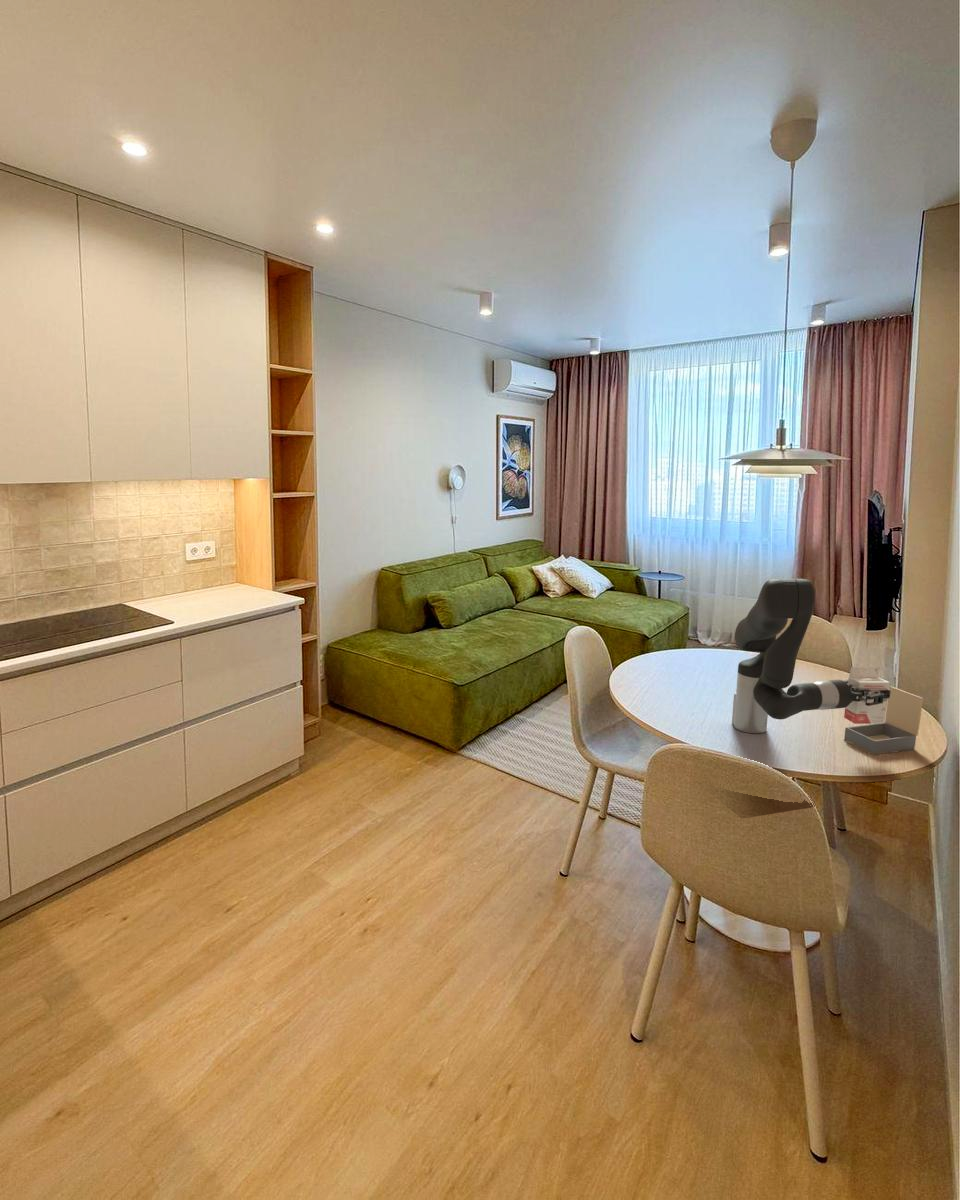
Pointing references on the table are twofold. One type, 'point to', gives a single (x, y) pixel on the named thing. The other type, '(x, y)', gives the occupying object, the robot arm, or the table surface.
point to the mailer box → (890, 726)
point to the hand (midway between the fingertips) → (878, 690)
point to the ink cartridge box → (859, 710)
